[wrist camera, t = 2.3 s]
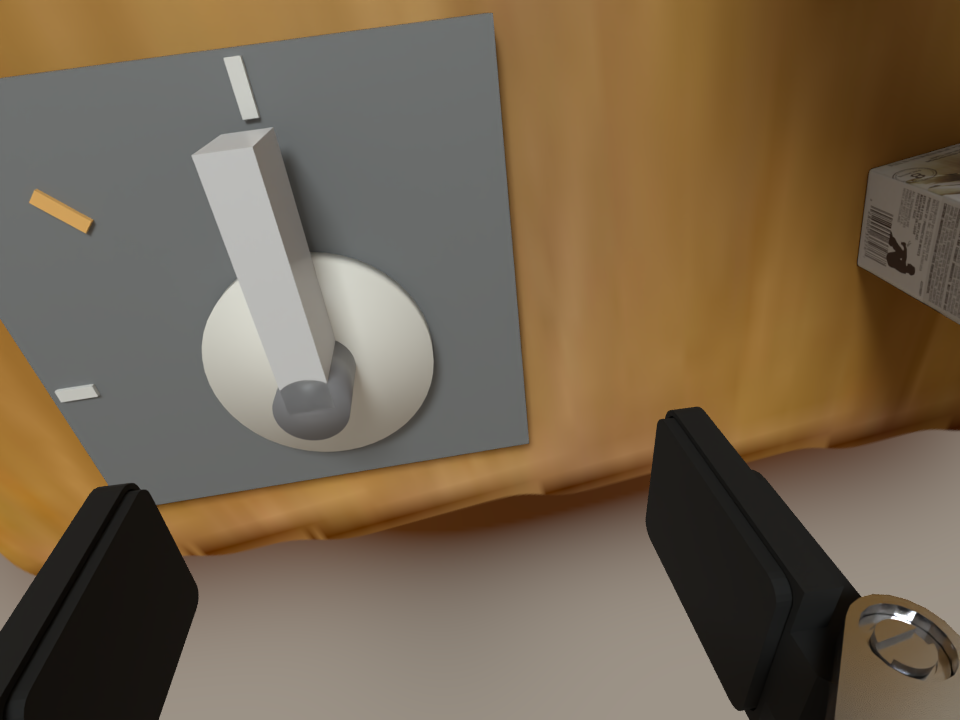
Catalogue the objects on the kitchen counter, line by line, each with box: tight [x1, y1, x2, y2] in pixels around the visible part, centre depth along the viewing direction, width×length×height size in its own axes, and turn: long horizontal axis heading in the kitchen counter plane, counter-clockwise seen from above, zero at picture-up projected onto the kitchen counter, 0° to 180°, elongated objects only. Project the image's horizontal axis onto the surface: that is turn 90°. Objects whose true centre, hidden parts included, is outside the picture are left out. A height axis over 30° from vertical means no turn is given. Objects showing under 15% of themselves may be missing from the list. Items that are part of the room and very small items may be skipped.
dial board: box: [0, 13, 529, 505], centre depth 30 cm, size 26×24×2 cm
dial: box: [191, 127, 434, 452], centre depth 27 cm, size 18×12×5 cm, turn 7°
